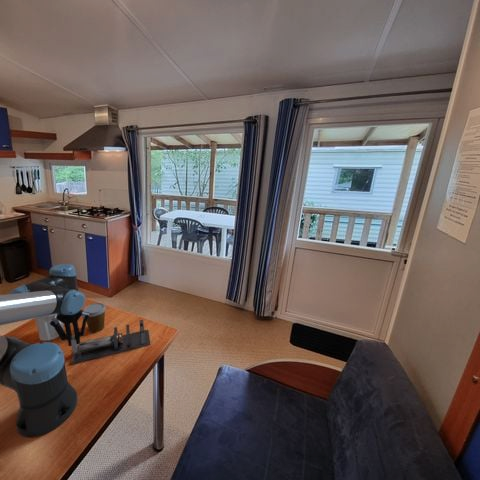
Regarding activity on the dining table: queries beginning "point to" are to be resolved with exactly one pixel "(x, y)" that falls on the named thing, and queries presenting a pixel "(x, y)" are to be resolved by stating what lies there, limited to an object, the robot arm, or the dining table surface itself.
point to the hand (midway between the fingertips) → (75, 350)
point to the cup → (47, 328)
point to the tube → (99, 342)
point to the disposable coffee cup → (95, 316)
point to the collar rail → (116, 345)
